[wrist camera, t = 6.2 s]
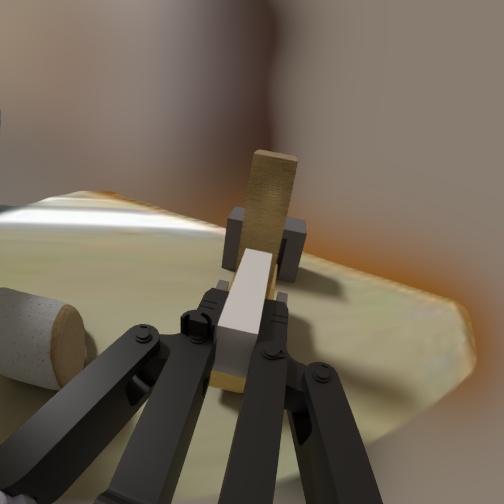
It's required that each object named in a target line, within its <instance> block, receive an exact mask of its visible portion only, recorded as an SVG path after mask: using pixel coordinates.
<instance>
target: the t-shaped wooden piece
mask: <svg viewBox="0 0 504 504" xmlns="http://www.w3.org/2000/svg"><path fill="white" fill-rule="evenodd" d="M297 162H298V161H297V157H296V156H291V155H285V154H281V153H275V152H270V151H264V150H258V151H256V152H255V153H254V155H253V161H252V168H251V174H250V180H249V186H248V193H247V199H246V205H245V212H244V218H243V225H242V231H241V238H240V245H239V251H238V258H237V265H236V272H235V274H234V277H233V280H232V282H231V285H230V288H229V290H228V291H229V292H230V290H231V287H232V284H233V282H234V279H235V276H236V274H237V271H238V268H239V266H240V263H241V260H242V258H243V255H244V252H245V250H246V248H247V249H252V250H257V251H262V252H267V253H271V254H272V259H271V265H270V270H269V276H268V282H267V287H266V293H265V298H266V299H270V300H273V298H274V290H275V282H276V274H277V266H278V265H277V264H276V262H277V258H278V253H279V249H280V244H281V240H282V235H283V231H284V226H285V221H286V217H287V212H288V207H289V202H290V197H291V193H292V188H293V183H294V178H295V173H296V168H297ZM245 383H246V378H243V377H239V376H234V375H229V374H225V373H221V372H217V371H213V368H212V371H211V376H210V383H209V386H212V387H216V388H220V389H224V390H229V391H233V392H238V393H243V391H244V387H245Z"/></svg>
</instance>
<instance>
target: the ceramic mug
mask: <svg viewBox="0 0 504 504" xmlns="http://www.w3.org/2000/svg"><path fill="white" fill-rule="evenodd" d="M85 347H86V340H85V329H84V324H83V320H82V317H81V316H80V314H79V312H78V311H77V309H76V308H75V307H73V306H71V305H69V304H67V303H64V302H61V301H58V300H55V299H51V298H46V297H40V296H35V295H31V294H27V293H24V292H20V291H16V290H13V289H9V288H0V375H1V376H4V377H7V378H11V379H14V380H17V381H20V382H24V383H28V384H32V385H36V386H39V387H43V388H47V389H51V390H61V389H62V388H63V387H64V386H65V385H66V384H68V383H69V382H70V381H71V380H72V379H73V378H74V377H75V376H76V375H78V374H79V373H80V372H81V371H82V370H83V368H84V362H85Z"/></svg>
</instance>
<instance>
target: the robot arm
mask: <svg viewBox="0 0 504 504" xmlns="http://www.w3.org/2000/svg"><path fill="white" fill-rule="evenodd" d="M0 124H1V112H0ZM271 259H272V254H271V253H267V252H262V251H257V250H252V249H247V248H246V250H245V252H244V255H243V258H242V260H241V263H240V266H239V268H238V271H237V274H236V276H235V279H234V282H233V284H232V287H231V290H230V292H229V291H224V290H220V289H215V288H211V289H210V290H208V291H207V292H206V293H205V294H204V296H203V298H202V301H201V302H200V304H199V306H198V308H197V310H190V311H187V312H185V313H184V314H183V315H182V316H181V333H178V334H173V335H163V334H159V332H158V330H157V329H156V328H154V327H153V326H150V325H147V324H140V325H135V326H133V327H132V328H130V329H129V330H128V331H127V332H125V333H124V334H123V335H122V336H121V337H120V338H119V339H117V340H116V341H115V342H114V343H113V344H112V345H110V346H109V347H108V348H107V349H106V350H105V351H104V352H102V353H101V354H100V355H99V356H98V357H97V358H96V359H95V360H93V361H92V362H91V363H90V364H89V365H88V366H87V367H85V368H84V369H83V370H82V371H81V372H80V373H79V374H78V375H76V376H75V377H74V378H73V379H72V380H71V381H70V382H69V383H68V384H66V385H65V386H64V387H63V388H62V389H61V390H60V391H59V392H58V393H56V394H55V395H54V396H53V397H52V398H51V399H50V400H49V401H48V402H47V403H46V404H44V405H43V406H42V407H41V408H40V409H39V410H38V411H37V412H36V413H35V414H34V415H32V416H31V417H30V418H29V419H28V420H27V421H26V422H25V423H24V424H23V425H22V426H21V427H20V428H19V429H18V430H16V431H15V432H14V433H13V434H12V435H11V436H10V437H9V438H8V439H7V440H6V441H5V442H4V443H3V444H2V445H1V446H0V504H52V503H53V502H55V501H56V500H57V499H58V498H59V497H60V496H61V495H62V494H64V492H65V491H66V490H67V489H68V488H69V487H70V486H71V485H72V484H73V483H74V482H75V480H76V479H77V478H78V477H79V476H80V475H81V474H82V473H83V472H84V471H85V469H86V468H87V467H88V466H89V465H90V464H91V463H92V462H93V461H94V459H95V458H96V457H97V456H98V455H99V454H100V453H101V452H102V450H103V449H104V448H105V447H106V446H107V445H108V444H109V443H110V441H111V440H112V439H113V438H114V437H115V436H116V435H117V434H118V432H119V431H120V430H121V429H122V428H123V427H124V426H125V425H126V423H127V422H128V421H129V420H130V419H131V418H132V417H133V415H134V414H135V413H136V412H137V411H138V410H139V409H140V407H141V406H142V405H143V404H144V403H145V402H146V400H147V399H148V398H149V399H148V401H147V403H146V405H145V407H144V409H143V412H142V414H141V416H140V418H139V420H138V422H137V425H136V427H135V429H134V431H133V433H132V435H131V438H130V440H129V442H128V444H127V447H126V449H125V451H124V453H123V455H122V458H121V460H120V462H119V464H118V467H117V469H116V471H115V474H114V476H113V478H112V481H111V483H110V485H109V487H108V489H107V490H106V491H105V492H103V493H102V494H100V495H99V496H98V497H97V498H96V500H95V502H94V504H171V502H172V498H173V495H174V492H175V489H176V486H177V483H178V480H179V477H180V473H181V470H182V467H183V464H184V461H185V458H186V455H187V451H188V448H189V445H190V442H191V439H192V436H193V433H194V429H195V426H196V423H197V420H198V417H199V414H200V411H201V408H202V404H203V401H204V398H205V395H206V392H207V389H208V386H209V383H210V376H211V371H212V368H213V371H217V372H221V373H225V374H229V375H234V376H239V377H243V378H246V383H245V387H244V391H243V395H242V400H241V405H240V410H239V414H238V419H237V423H236V428H235V432H234V437H233V441H232V445H231V450H230V454H229V459H228V463H227V467H226V471H225V476H224V480H223V484H222V488H221V492H220V497H219V501H218V504H273V497H274V490H275V482H276V474H277V466H278V458H279V449H280V440H281V431H282V421H283V411H284V409H286V410H287V414H288V418H289V423H290V428H291V433H292V438H293V443H294V447H295V452H296V457H297V462H298V467H299V471H300V476H301V481H302V486H303V491H304V496H305V500H306V504H383V502H382V499H381V496H380V493H379V489H378V486H377V484H376V480H375V478H374V474H373V471H372V468H371V466H370V463H369V459H368V456H367V453H366V451H365V448H364V445H363V442H362V439H361V436H360V433H359V431H358V428H357V425H356V422H355V419H354V417H353V414H352V411H351V409H350V406H349V403H348V400H347V398H346V395H345V392H344V390H343V387H342V384H341V382H340V379H339V376H338V374H337V372H336V371H335V369H334V368H333V367H331V366H330V365H328V364H326V363H322V362H315V363H311V364H310V365H308V366H306V365H303V364H301V363H299V362H297V361H295V360H294V359H293V358H291V357H290V355H289V354H288V352H287V350H286V340H287V324H288V308H287V306H286V304H285V302H281V301H275V300H270V299H266V298H265V293H266V287H267V282H268V276H269V270H270V265H271Z"/></svg>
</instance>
